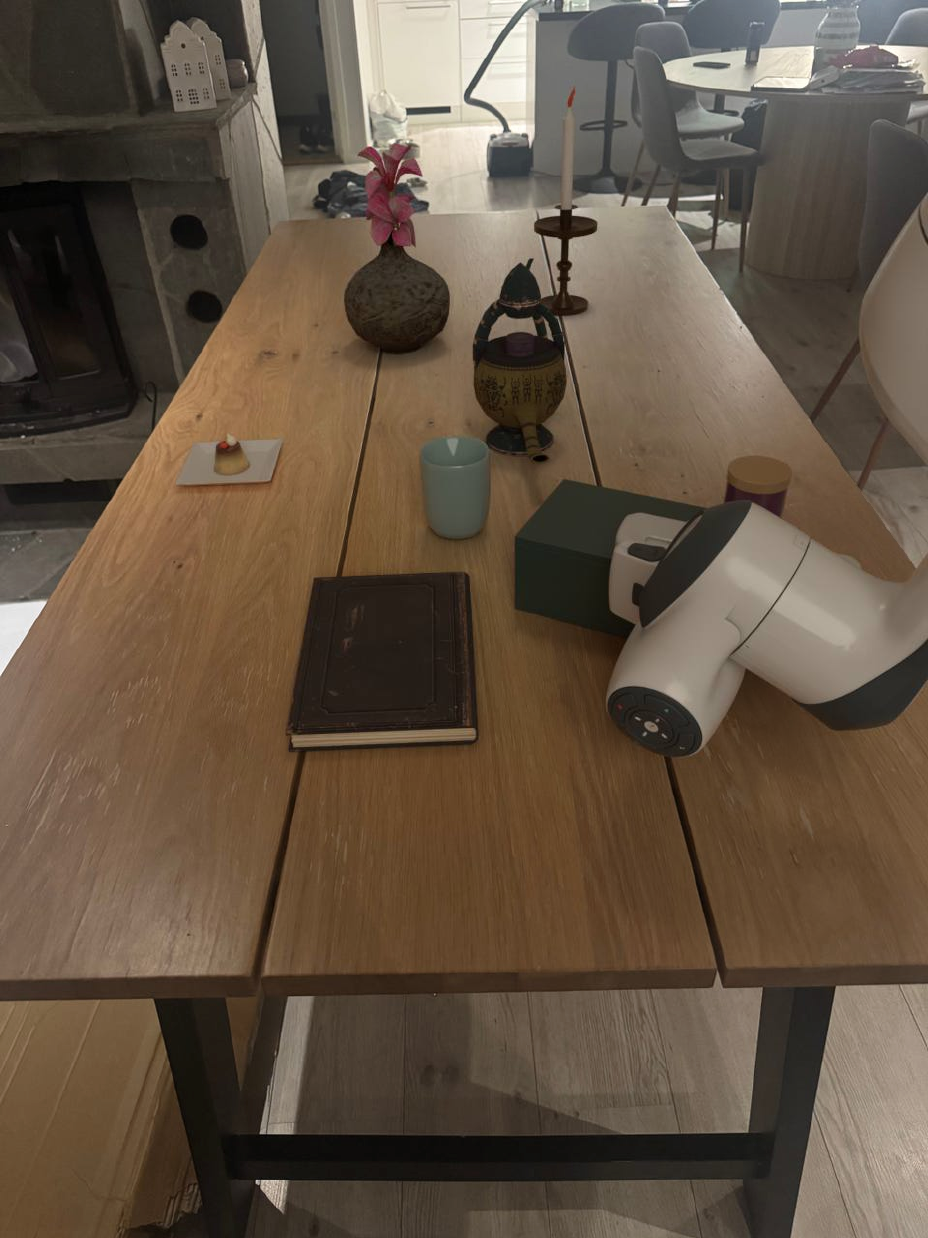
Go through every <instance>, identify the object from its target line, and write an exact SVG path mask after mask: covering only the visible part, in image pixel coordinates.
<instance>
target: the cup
mask: <svg viewBox="0 0 928 1238" xmlns="http://www.w3.org/2000/svg"><path fill="white" fill-rule="evenodd" d="M418 456H419V457H418V458H419V477H420V491H421V499H422V506H423V511H424V515H425V519H426V522H427V524H428V526H429V528H430V529H431V530H432V531H433V533H434V534H435V535H437V536H438V537H441V538H444V539H447V540H465V539H470V538H472V537H474V536H476V535H478V534H479V533H480V532H482V530H483V528H484V527H485V525H486V523H487V521H488V518H489V515H490V514H489V513H490V507H491V498H492V497H491V495H492V462H491V460H492V459H491V452H490V448H489V447H488V446H487V444H486V441H483V440H482V439H480V438H476V437H474V436H473V437H472V436H468V435H467V436H465V435H449V436H441V437H436V438H434V439H430V440H429V441H427V442H426V443H424V444H423V445H422V447H421V448H420V450H419V455H418Z"/></svg>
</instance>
